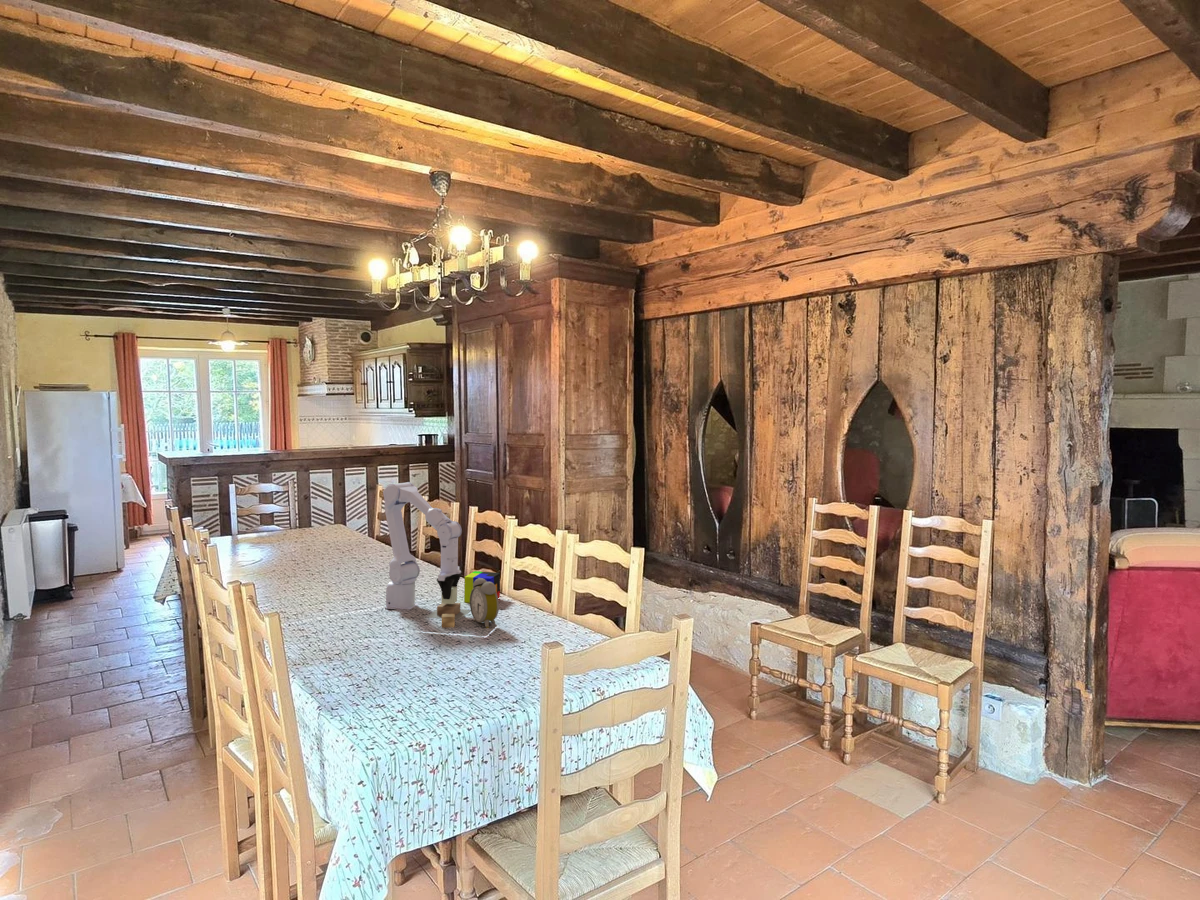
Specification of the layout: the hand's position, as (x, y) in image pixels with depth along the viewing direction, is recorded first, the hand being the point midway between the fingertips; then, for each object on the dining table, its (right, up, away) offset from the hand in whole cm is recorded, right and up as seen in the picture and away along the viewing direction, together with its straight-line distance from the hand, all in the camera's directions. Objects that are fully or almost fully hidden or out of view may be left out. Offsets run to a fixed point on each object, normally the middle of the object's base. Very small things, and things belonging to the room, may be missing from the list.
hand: (448, 597), depth 241 cm
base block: (0, -6, 0) cm, 6 cm away
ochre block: (+3, -7, -13) cm, 15 cm away
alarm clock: (+14, -7, -10) cm, 19 cm away
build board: (0, -6, 0) cm, 6 cm away
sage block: (0, -2, 0) cm, 2 cm away
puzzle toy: (+8, -6, +19) cm, 22 cm away
